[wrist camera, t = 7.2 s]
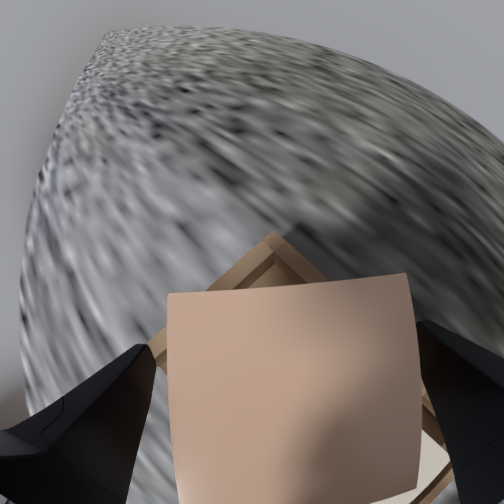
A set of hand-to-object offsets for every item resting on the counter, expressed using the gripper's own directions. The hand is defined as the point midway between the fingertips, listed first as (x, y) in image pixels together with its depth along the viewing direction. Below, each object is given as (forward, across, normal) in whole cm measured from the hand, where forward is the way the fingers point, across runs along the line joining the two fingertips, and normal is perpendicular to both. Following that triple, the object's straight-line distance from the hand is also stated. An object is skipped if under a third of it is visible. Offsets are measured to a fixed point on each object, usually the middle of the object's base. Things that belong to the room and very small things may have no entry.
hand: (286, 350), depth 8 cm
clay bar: (+5, 0, +6) cm, 8 cm away
